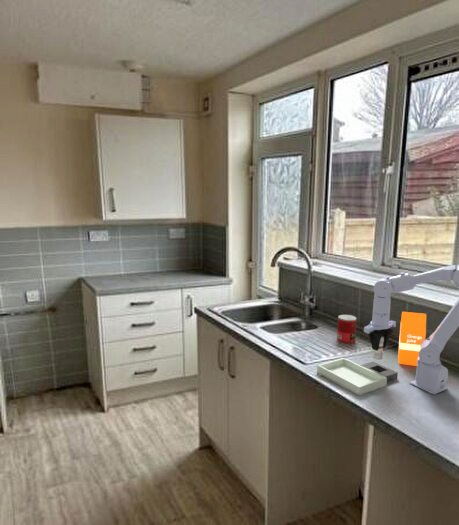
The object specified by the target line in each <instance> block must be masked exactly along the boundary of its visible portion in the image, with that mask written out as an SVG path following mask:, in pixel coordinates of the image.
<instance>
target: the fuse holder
mask: <svg viewBox="0 0 459 525" xmlns="http://www.w3.org/2000/svg"><path fill="white" fill-rule="evenodd" d="M361 366H363V367H365V368H367V369H369V370H371V371H374V372H376V373H378V374H380V375H382V376H384V377H386V378H387V383H391V382H393V381H395V380H398V371H395V370H393V369H391V368H389V367H386V366H385V365H381V364H379V363H377V362H375V361H370V362H367V363H364V364H361Z"/></svg>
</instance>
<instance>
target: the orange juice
mask: <svg viewBox="0 0 459 525" xmlns="http://www.w3.org/2000/svg"><path fill="white" fill-rule="evenodd" d="M399 326H400V327H399V337H398V338H399V340H398V351H397V361H398V364H400V365H406V366H407V365H408V366H415V367H417V358H418V357H419V351H420V348H421V347H420V346H421V343H422V341H424V340H425V339H426V335H427V313H421V312H411V311H409V312H408V311H402V312H401V319H400V325H399Z"/></svg>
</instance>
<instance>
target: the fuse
mask: <svg viewBox="0 0 459 525" xmlns="http://www.w3.org/2000/svg"><path fill="white" fill-rule="evenodd" d="M383 343H384V336H382V337H381V339H380V343H379V349H378V351H376V350H374V349H373V359H375V360H383V355H384V352H383V351H384V350H383Z"/></svg>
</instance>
